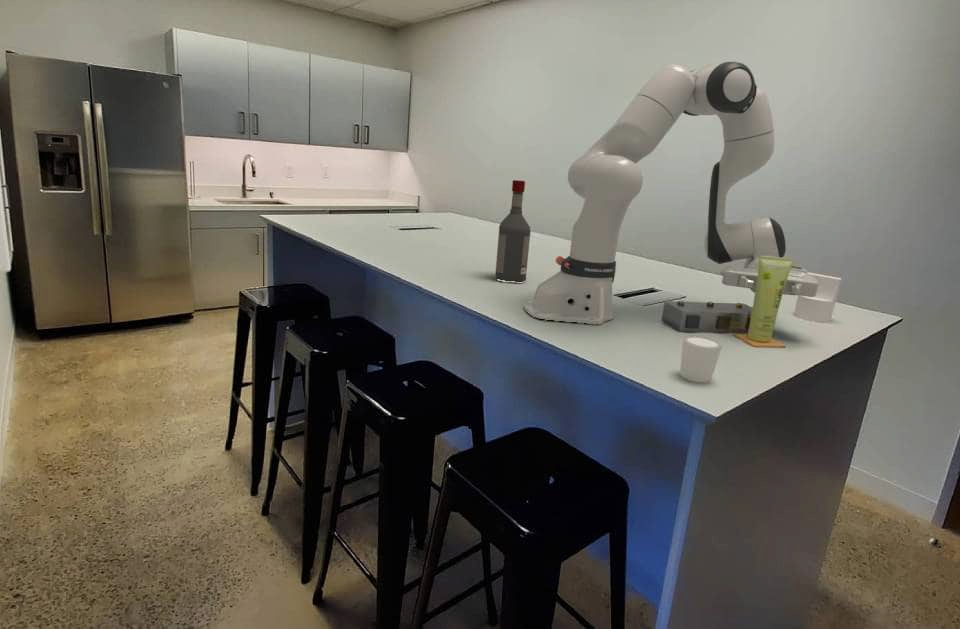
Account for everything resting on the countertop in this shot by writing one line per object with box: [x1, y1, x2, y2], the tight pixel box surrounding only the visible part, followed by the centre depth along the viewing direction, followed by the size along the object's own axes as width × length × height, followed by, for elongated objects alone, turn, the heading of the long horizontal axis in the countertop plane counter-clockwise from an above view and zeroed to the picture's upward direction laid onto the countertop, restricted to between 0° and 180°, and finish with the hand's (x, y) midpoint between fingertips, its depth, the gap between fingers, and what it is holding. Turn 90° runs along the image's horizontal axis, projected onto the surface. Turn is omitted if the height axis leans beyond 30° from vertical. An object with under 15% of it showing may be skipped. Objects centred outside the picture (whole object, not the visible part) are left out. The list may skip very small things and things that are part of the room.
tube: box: [747, 256, 795, 342], centre depth 128 cm, size 6×5×20 cm
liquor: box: [495, 179, 531, 282], centre depth 169 cm, size 9×9×30 cm
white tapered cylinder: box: [679, 336, 722, 383], centre depth 105 cm, size 7×7×7 cm
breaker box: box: [661, 300, 753, 334], centre depth 138 cm, size 22×10×6 cm, turn 99°
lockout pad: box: [733, 333, 787, 348], centre depth 130 cm, size 8×8×1 cm
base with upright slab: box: [793, 271, 842, 324], centre depth 154 cm, size 9×9×12 cm
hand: (771, 287), depth 126 cm, fingers open, 8 cm apart
